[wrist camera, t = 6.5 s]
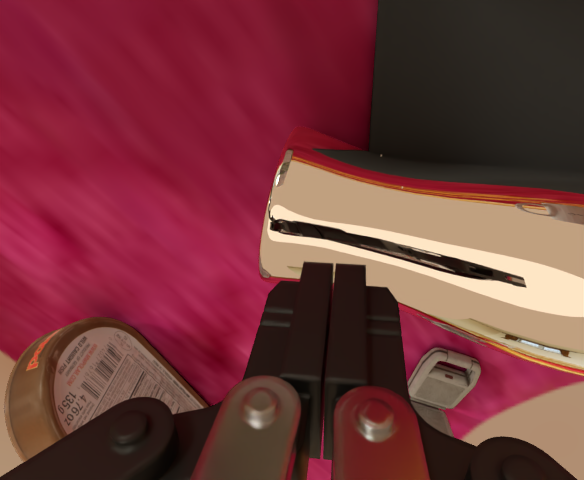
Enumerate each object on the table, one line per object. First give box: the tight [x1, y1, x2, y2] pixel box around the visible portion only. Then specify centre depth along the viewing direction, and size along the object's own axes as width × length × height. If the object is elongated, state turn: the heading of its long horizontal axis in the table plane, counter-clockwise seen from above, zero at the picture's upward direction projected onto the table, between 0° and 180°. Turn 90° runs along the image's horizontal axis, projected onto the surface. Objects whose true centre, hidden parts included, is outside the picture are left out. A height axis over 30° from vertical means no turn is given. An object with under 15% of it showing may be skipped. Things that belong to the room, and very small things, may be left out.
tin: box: [4, 317, 209, 462], centre depth 24 cm, size 15×3×8 cm, turn 31°
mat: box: [368, 0, 584, 173], centre depth 17 cm, size 12×14×1 cm
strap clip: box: [408, 347, 481, 437], centre depth 23 cm, size 8×3×4 cm, turn 163°
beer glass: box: [258, 126, 584, 376], centre depth 15 cm, size 7×7×15 cm
